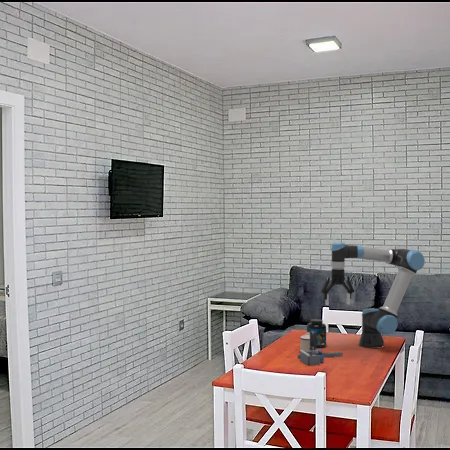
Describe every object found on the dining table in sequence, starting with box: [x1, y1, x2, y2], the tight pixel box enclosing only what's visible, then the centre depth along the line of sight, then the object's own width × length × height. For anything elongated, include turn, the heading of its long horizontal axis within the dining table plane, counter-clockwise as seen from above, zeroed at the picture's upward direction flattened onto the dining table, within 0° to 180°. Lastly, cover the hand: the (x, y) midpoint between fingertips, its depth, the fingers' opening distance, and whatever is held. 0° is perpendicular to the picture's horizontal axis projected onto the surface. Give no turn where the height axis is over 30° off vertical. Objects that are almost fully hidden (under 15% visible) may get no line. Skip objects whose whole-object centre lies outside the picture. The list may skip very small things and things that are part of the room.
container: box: [306, 318, 327, 349], centre depth 373 cm, size 12×12×17 cm
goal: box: [299, 350, 321, 366], centre depth 333 cm, size 7×11×6 cm, turn 15°
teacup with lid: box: [299, 332, 310, 351], centre depth 358 cm, size 12×9×12 cm
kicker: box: [307, 331, 325, 364], centre depth 339 cm, size 6×14×14 cm, turn 15°
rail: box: [296, 351, 343, 360], centre depth 345 cm, size 27×2×2 cm, turn 105°
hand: (337, 304), depth 354 cm, fingers open, 13 cm apart
